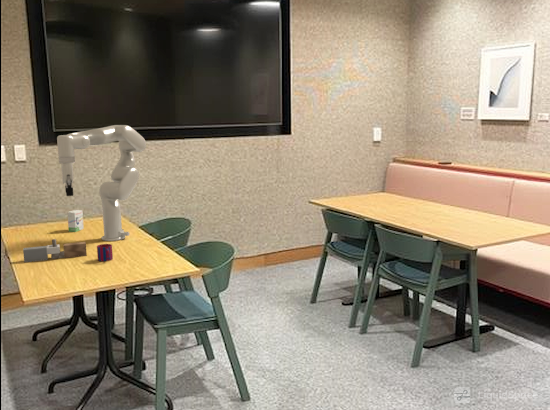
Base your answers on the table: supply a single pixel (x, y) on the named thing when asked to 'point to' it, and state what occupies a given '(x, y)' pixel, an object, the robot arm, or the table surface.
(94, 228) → the table surface
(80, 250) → the walnut hinge leaf
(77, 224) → the ink box
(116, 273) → the table surface
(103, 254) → the mug
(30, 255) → the charcoal hinge leaf
